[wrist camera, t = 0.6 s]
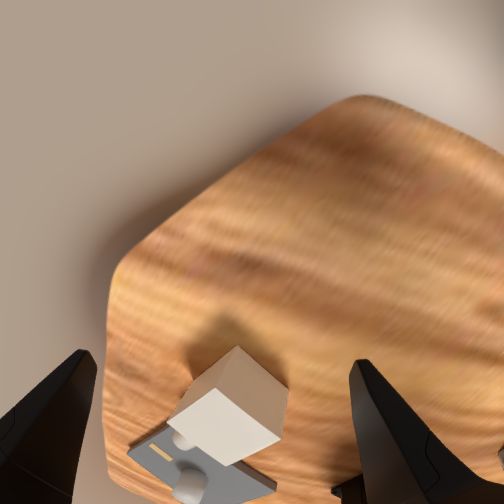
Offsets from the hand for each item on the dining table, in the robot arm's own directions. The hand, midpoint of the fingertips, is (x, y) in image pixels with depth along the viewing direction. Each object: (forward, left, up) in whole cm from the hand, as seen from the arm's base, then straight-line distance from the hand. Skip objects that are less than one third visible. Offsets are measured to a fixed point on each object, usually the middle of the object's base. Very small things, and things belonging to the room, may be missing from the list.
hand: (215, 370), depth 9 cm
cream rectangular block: (-6, +11, -13) cm, 18 cm away
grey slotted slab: (-12, +23, -13) cm, 29 cm away
